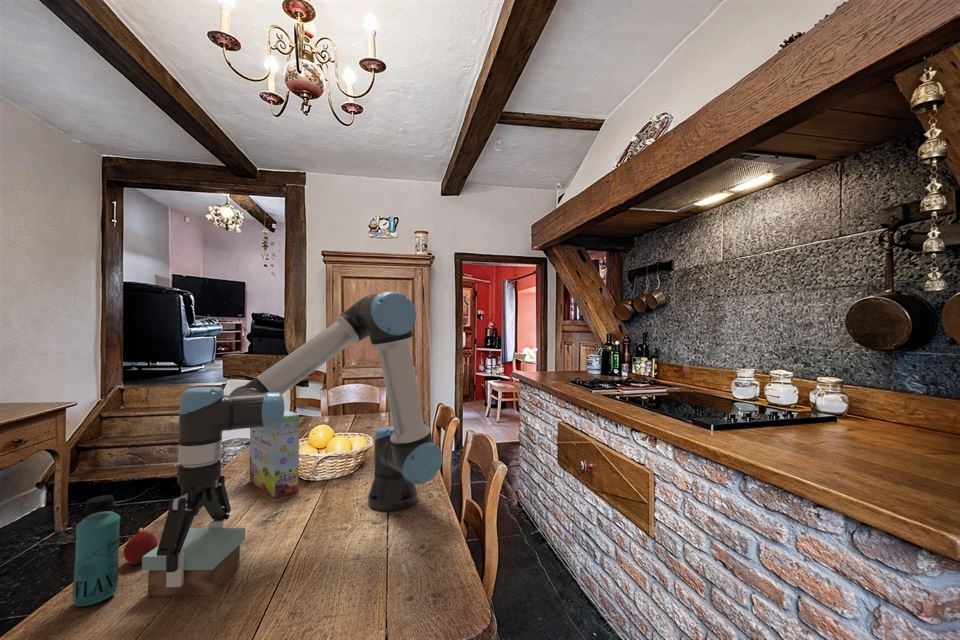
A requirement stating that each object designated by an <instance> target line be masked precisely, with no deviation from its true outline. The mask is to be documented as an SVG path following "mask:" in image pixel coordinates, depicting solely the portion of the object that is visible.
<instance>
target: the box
mask: <svg viewBox="0 0 960 640" xmlns="http://www.w3.org/2000/svg"><path fill="white" fill-rule="evenodd" d="M240 553H241V544H240V545H239V546H238V547H237V548H235V549H234V550H233V551H232V552H231V553H230V554H229V555H228V556H227V557H226V558H224V559H223V560H222V561H221V562H220V563H219V564H218V565H217V566H216V567H215V568H214V569H212V570H184V577H183V585H182V586H181V587H166V576H167V572H166V570H148V573H147V574H148V578H147V580H148V581H147V597H148V596H150V597H151V596H213V595H214V593H216V592H217V591H218V590H219V588H220V587H222V585H224V584H225V582H226V581H227V580H229V579H230V578H231V576H232V575H234V574H235V572H236V571H237V570H238V569H239V568H240V561H241V559H240V557H241V556H240Z"/></svg>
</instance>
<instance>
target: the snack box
mask: <svg viewBox="0 0 960 640" xmlns="http://www.w3.org/2000/svg"><path fill="white" fill-rule="evenodd" d="M300 415H301V414H300V413H296V412H293V411H291V410H287V409H284V417H283V420H282V422H281V423H279V424H275V425H270V426H267V427H265V426H263V427H254V428H249V481H250V483H252V484H253V485H255V486H257V487H258V488H260V489H261V490H262V491H264V492H266V493H267V494H268V495H269V496H271V497H273V498H274V499H275V498H279V496H280V497H283V496H285V495H289V493H290V494H293V493H297V492H299V476H300V475H299V470H300V468H299V466H300V465H299V462H300V460H299V459H300V458H299V457H300V453H299V452H300V451H299V450H300Z"/></svg>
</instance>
